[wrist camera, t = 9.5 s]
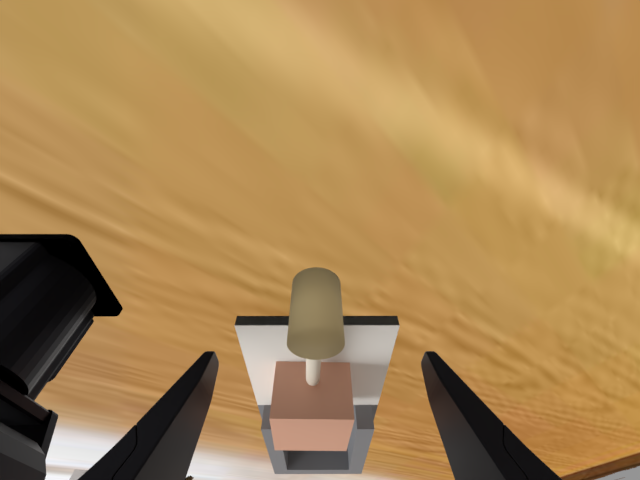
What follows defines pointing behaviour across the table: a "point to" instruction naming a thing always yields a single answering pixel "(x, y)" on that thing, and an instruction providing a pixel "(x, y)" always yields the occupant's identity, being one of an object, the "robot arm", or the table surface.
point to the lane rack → (360, 351)
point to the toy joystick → (313, 370)
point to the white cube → (77, 474)
